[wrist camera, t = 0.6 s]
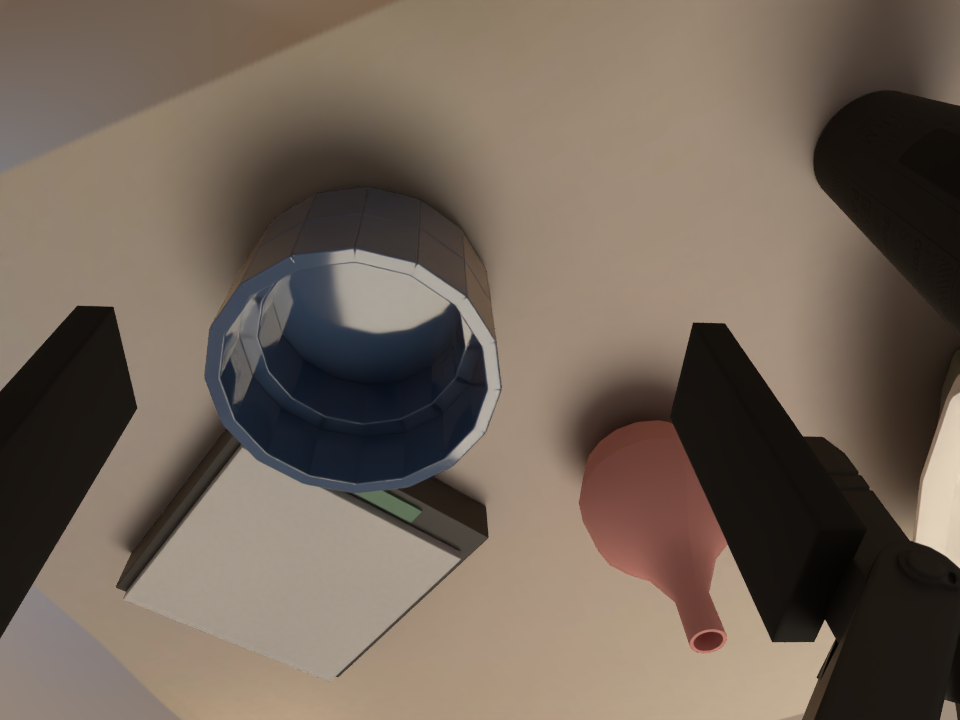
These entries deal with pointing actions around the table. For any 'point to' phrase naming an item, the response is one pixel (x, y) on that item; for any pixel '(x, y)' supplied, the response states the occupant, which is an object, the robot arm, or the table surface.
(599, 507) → the pink bud vase
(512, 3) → the table surface
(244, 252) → the table surface
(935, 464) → the bowl
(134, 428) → the table surface
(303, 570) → the scale
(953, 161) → the drinking cup
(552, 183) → the table surface
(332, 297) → the blue bowl
